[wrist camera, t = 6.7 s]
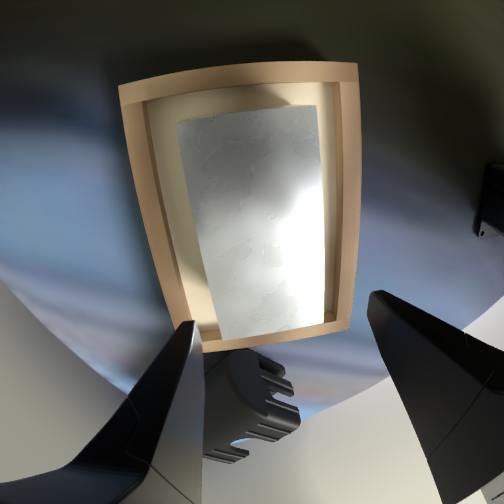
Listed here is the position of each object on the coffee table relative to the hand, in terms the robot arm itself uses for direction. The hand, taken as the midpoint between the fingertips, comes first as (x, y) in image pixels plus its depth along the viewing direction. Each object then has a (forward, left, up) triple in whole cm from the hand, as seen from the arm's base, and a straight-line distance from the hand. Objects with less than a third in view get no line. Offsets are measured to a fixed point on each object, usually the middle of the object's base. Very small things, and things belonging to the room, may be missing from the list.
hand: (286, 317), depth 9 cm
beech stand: (0, 0, -10) cm, 10 cm away
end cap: (+4, +15, -10) cm, 19 cm away
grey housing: (0, -1, -8) cm, 8 cm away
